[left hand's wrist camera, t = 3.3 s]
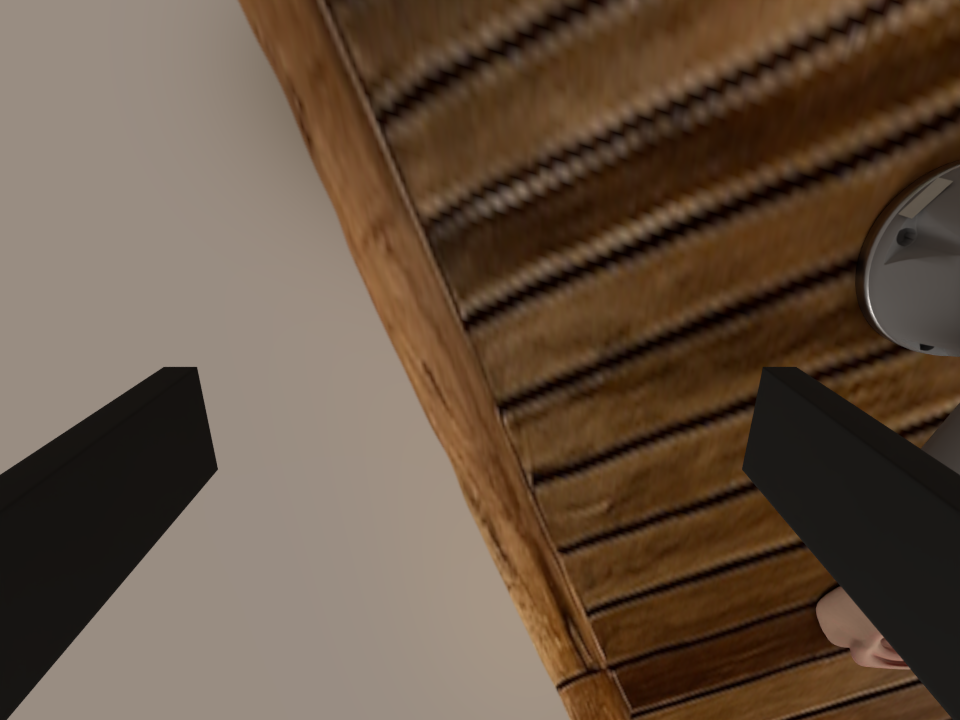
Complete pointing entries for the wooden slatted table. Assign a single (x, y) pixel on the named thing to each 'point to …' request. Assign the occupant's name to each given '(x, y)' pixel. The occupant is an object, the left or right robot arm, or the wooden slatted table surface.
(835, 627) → the anatomical model
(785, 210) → the wooden slatted table surface
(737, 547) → the wooden slatted table surface
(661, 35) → the wooden slatted table surface
